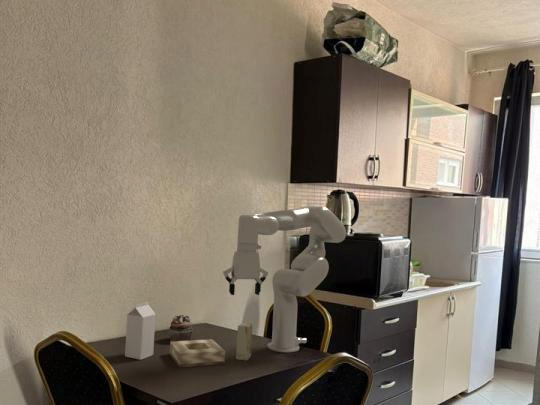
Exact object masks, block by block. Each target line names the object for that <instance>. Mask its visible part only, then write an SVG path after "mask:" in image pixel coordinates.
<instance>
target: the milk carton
mask: <svg viewBox="0 0 540 405" xmlns="http://www.w3.org/2000/svg"><path fill="white" fill-rule="evenodd" d="M126 316H127V317H126V329H125V330H126V331H125V332H126V333H125V348H124V356H125V357H127V358H129V359H130V358H131V359H136V360H141V361H142V360H143V359H147V358H149V357H152V356H154V345H155V330H156V329H155V328H156V313H155V312H154V310H153V309H152V308H151V306H150V305H149V301H146V302H140V303H137V304H135V306H134V307H133V309H132V310H131V311H130V312H128V313H127V315H126Z"/></svg>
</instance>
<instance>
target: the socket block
mask: <svg viewBox="0 0 540 405" xmlns="http://www.w3.org/2000/svg"><path fill="white" fill-rule="evenodd" d="M169 343H170V344H169V355H170V357H172V359H173V361H174V362H175V364H176V365H177V366H178V367H179V368H190V367H201V366H202V367H203V366H204V367H205V366H213V365H214V366H216V365H225V363H226V362H225V361H226V360H225V359H226V350H225V349H223V347H222V346H220V345H219V344H218V343H217V342H216V341H215V340H214V339H211V338H209V339H194V340H191V339H190V341H174V342H172V341H170V342H169Z"/></svg>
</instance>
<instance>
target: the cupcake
mask: <svg viewBox="0 0 540 405" xmlns="http://www.w3.org/2000/svg"><path fill="white" fill-rule="evenodd" d="M193 330H194V328H193V326H192V322H191V318H190V317H189V316H188V315H185V316H184V314H180V315H175V316H172V321H171V322H170V326H169V329H168V331H169V338H170V342H174V341H191V339H192V334H193Z"/></svg>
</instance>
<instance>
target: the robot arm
mask: <svg viewBox="0 0 540 405" xmlns="http://www.w3.org/2000/svg"><path fill="white" fill-rule="evenodd" d="M304 228H310V229H309V242H308V246H307V247H305V249H304V250H303V251H301V252H300V253H299V254H298V255H297V256H296V257H295V258H294V259H293V261H292V262H291V265H290V268H291V269H290V268H281V269H280V268H279V269H278V270H276V271H275V272H274V273H273V276H272V280H271V281H272V282H271V284H272V289H273V312H272V313H273V314H272V331H271V332H272V334H271V335H272V336H271V337H272V338H271V342H268V343H267V348H268V349H269V350H271V351H273V352H276V353H277V352H279V353H295V352H298V351H299V350H300V344H306V343H307V342H308V341H307V340H308V339H307V338H306V337H297V324H298V323H297V322H298V300H297V296H298V297H307V296H309V295H310V294H312V292H313V291H314V290H315V289H316V288H317V287H318V286H319V285H320V284H321V283H322V282H323V281H324V279H325V278H326V277H327V276H328V273H329V268H330V266H329V262H328V260H327V258H326V257H325V256H326V249H325V243H336V244H339V243H341V242H343V241H344V240H345V239H346V237H347V229H346V227H345V225H344V223H343V222H342V221H341V220H340V219H339V218H338V217H337V215H335V214H334V213H333V212H332V211H331V210H330V209H329V208H327V207H325V206H311V205H310V206H309V205H307V206H301V207H295V208H290V209H289V208H288V209H282V210H276V211H268V212H267V211H266V212H261V213H259V212H258V213H254V214H242V215H239V218H238V224H237V243H236V246H237V248H236V250H235V251H234V254H233V256H232V263H231V267H229V268H227V269H225V270H224V271H223V272H222V274H223V276H224V279H225V280H226V281H227V283H228V284H229V287H228V288H229V289H228V293H229V294H230V295H231V296H235V292H236V291H235V290H236V289H235V288H236V285H235V282H236V281H237V280H255V282H256V283H255V284H254V294H255V295H257V296H260V293H261V288H262V284H263V283H264V281H266V279H267V277H268V275H269V272H268V271H266V270H265V269H263V268H261V259H260V253H259V250H261V249H262V246H261V245H259V242H258V241H259V235H260V236H272V235H275V234H276V233H277V232H278V231H281V232H286V231H287V232H288V231H289V232H290V231H291V232H292V231H295V230H300V229H304ZM261 273H262V276H261ZM229 274H230V276H231V278H230V276H229Z"/></svg>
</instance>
